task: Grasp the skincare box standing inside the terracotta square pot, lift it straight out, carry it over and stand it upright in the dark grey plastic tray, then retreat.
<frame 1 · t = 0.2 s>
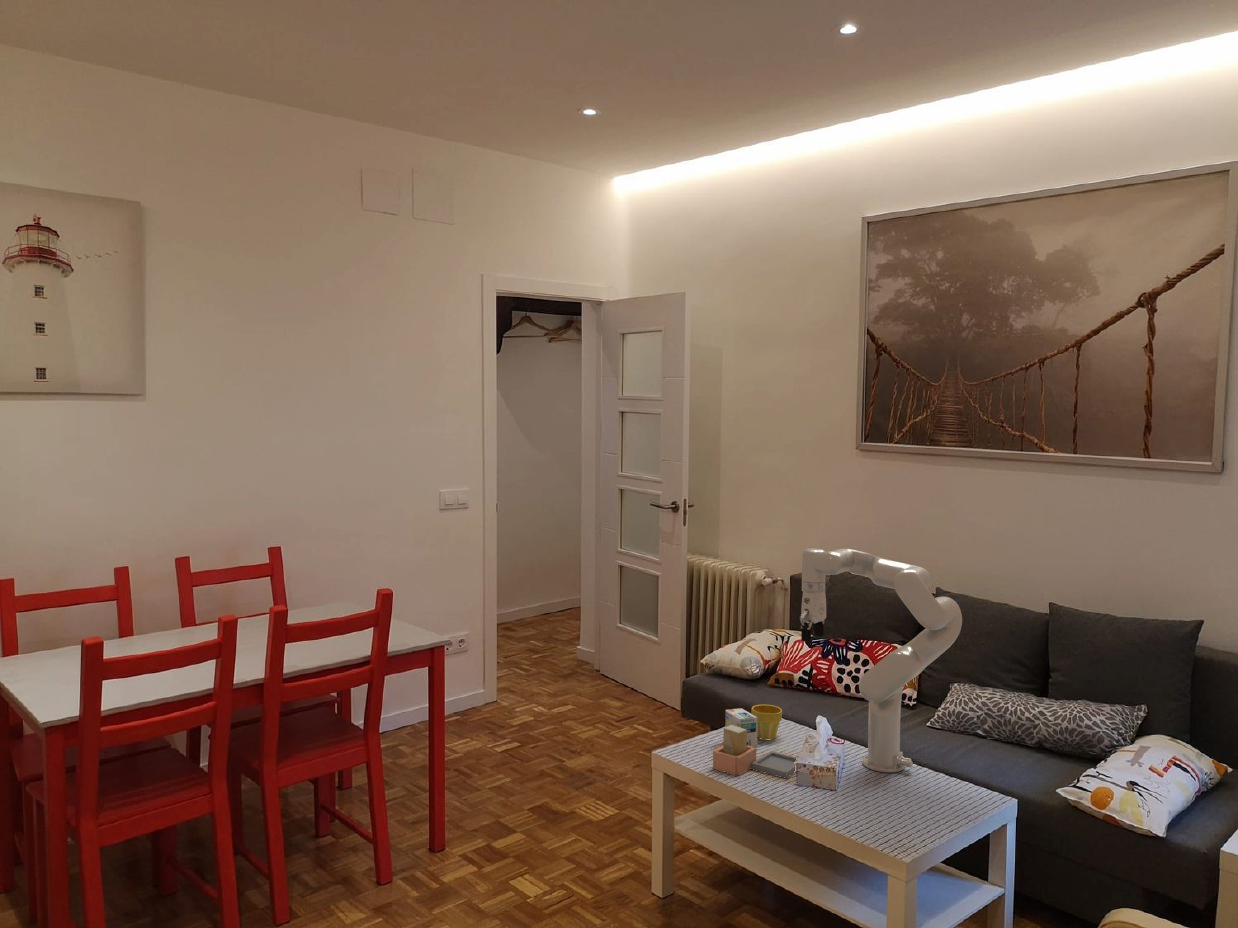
hand: (812, 638, 288), 37 cm above the table, tool pointing down, fingers open, 9 cm apart
skincare box: (734, 767, 274), resting in terracotta square pot
light bulb box: (741, 745, 293), on the table
plant pot: (766, 737, 300), on the table
terracotta square pot: (734, 766, 274), on the table
grey tray: (778, 767, 273), on the table
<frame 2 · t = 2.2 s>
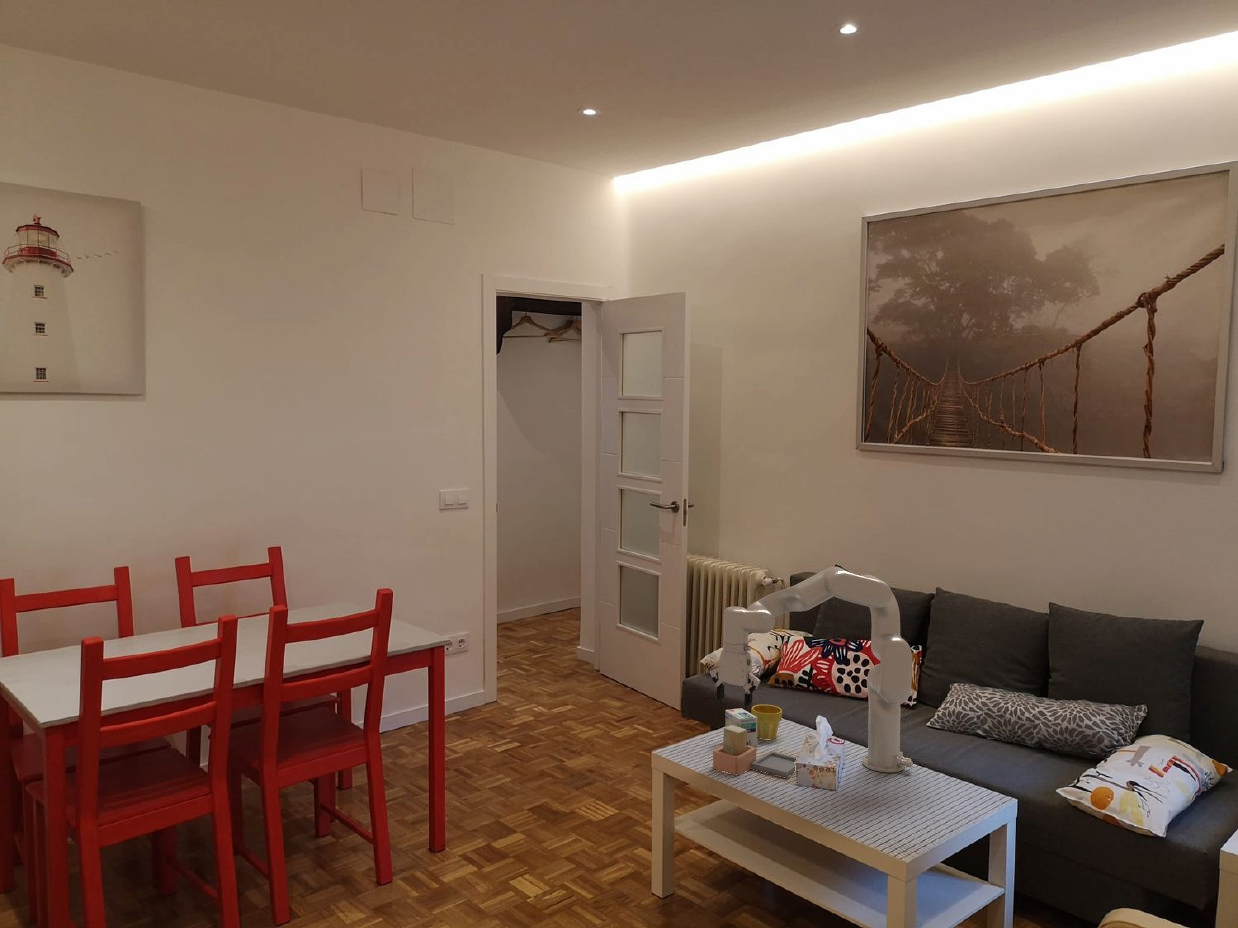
hand: (734, 701, 273), 20 cm above the table, tool pointing down, fingers open, 9 cm apart
nothing on the table moved.
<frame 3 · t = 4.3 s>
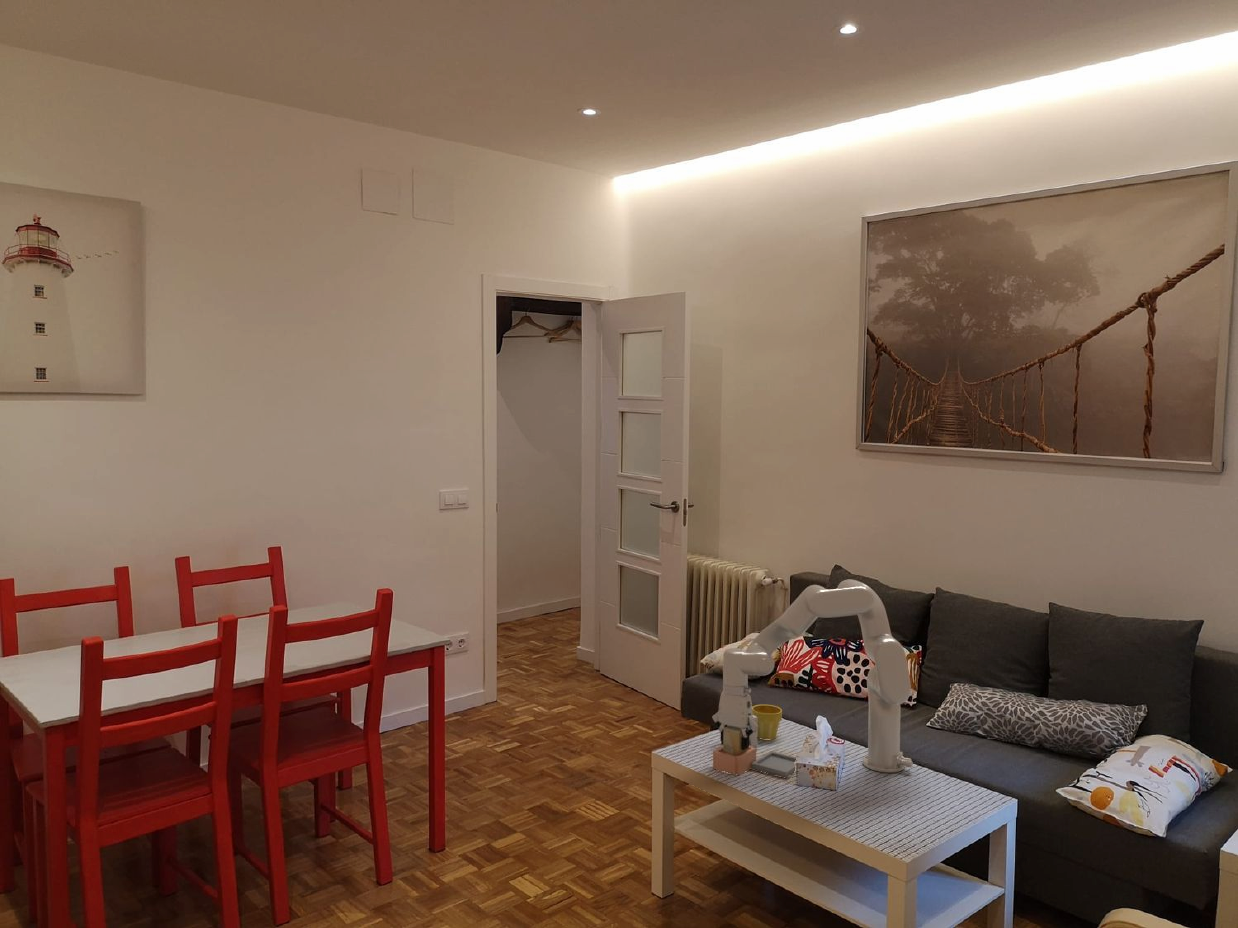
hand: (734, 745, 273), 7 cm above the table, tool pointing down, fingers closed on skincare box, 6 cm apart
skincare box: (734, 767, 274), resting in terracotta square pot, touching gripper
everything else where it was.
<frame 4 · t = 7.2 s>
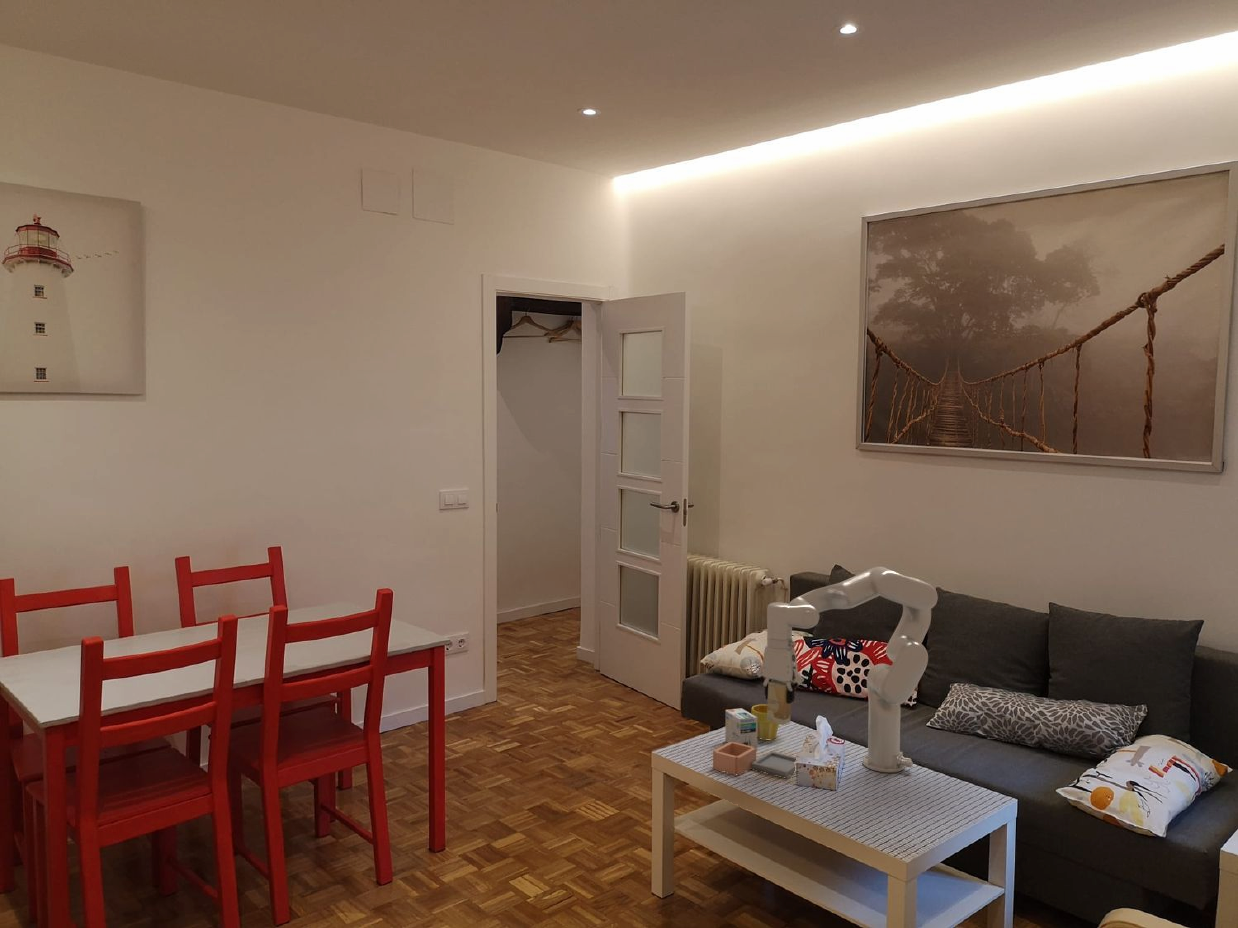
hand: (779, 699, 272), 21 cm above the table, tool pointing down, fingers closed on skincare box, 6 cm apart
skincare box: (778, 721, 273), point 14 cm above the table, touching gripper
everything else where it was.
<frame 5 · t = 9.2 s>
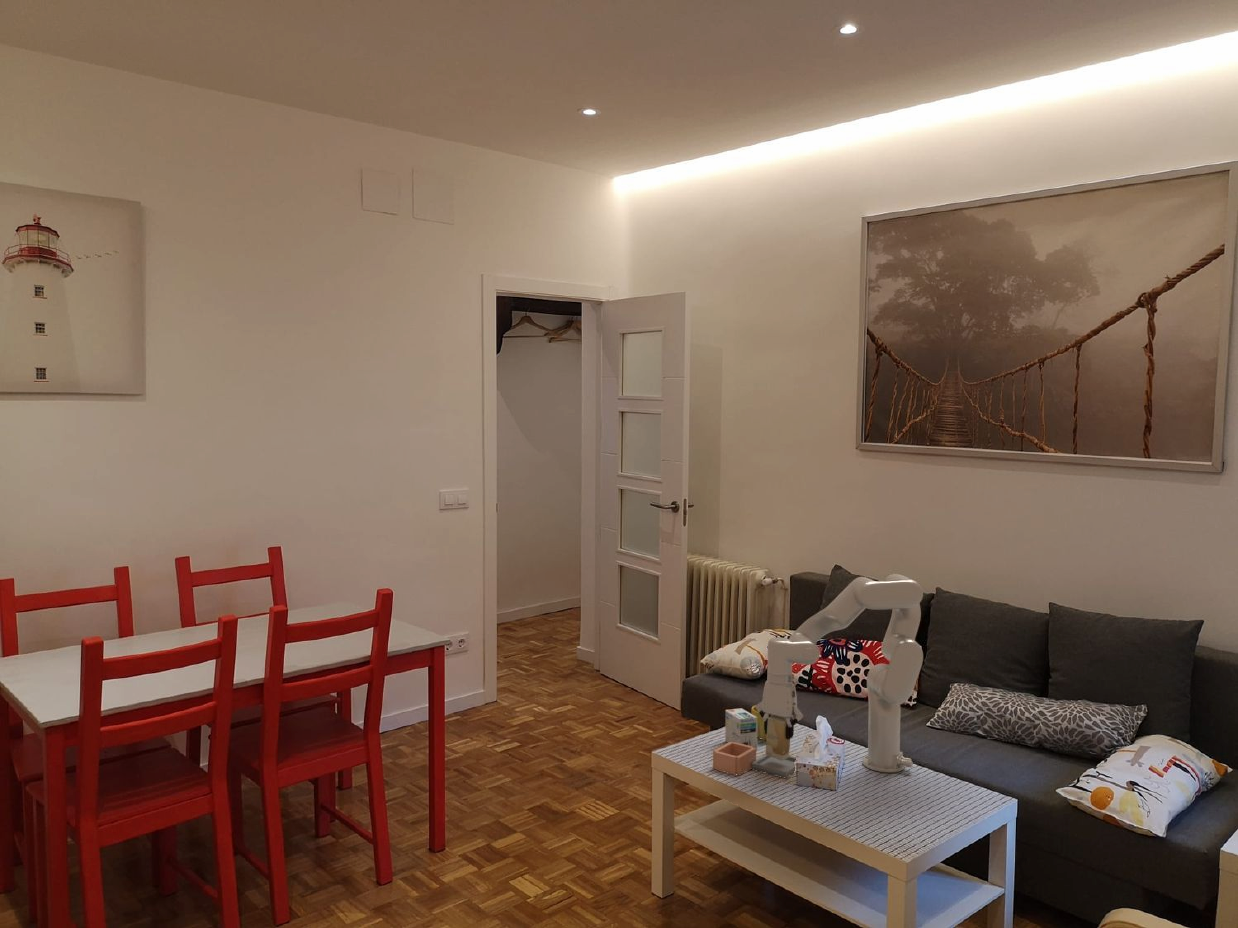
hand: (778, 735, 273), 10 cm above the table, tool pointing down, fingers closed on skincare box, 6 cm apart
skincare box: (777, 756, 273), point 3 cm above the table, touching gripper
everything else where it was.
when the fingers open (9 cm above the table, at t = 10.5 s): skincare box stays where it is, resting on grey tray.
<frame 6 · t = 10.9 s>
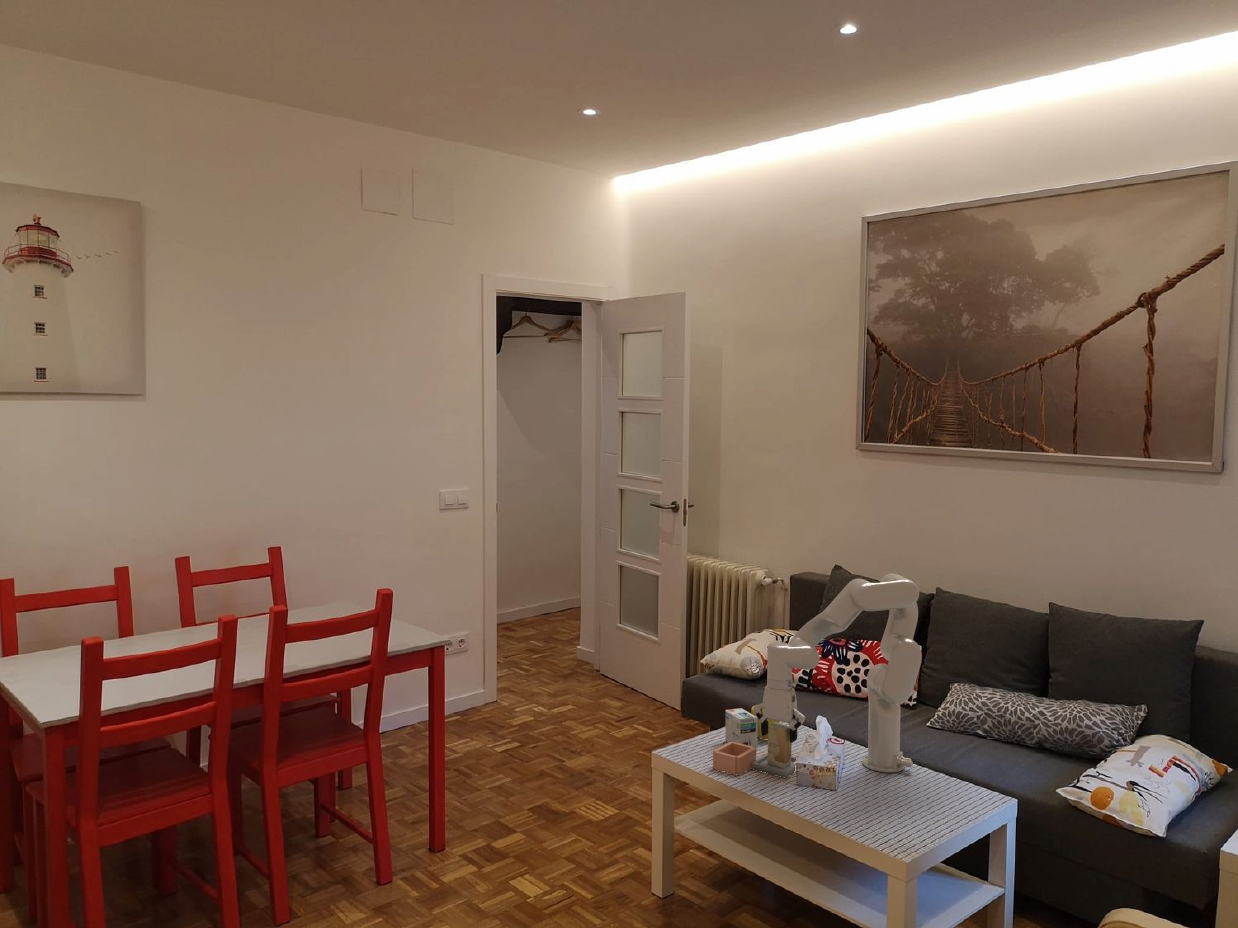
hand: (778, 737, 273), 9 cm above the table, tool pointing down, fingers open, 9 cm apart
skincare box: (779, 764, 273), point 1 cm above the table, touching grey tray
everything else where it was.
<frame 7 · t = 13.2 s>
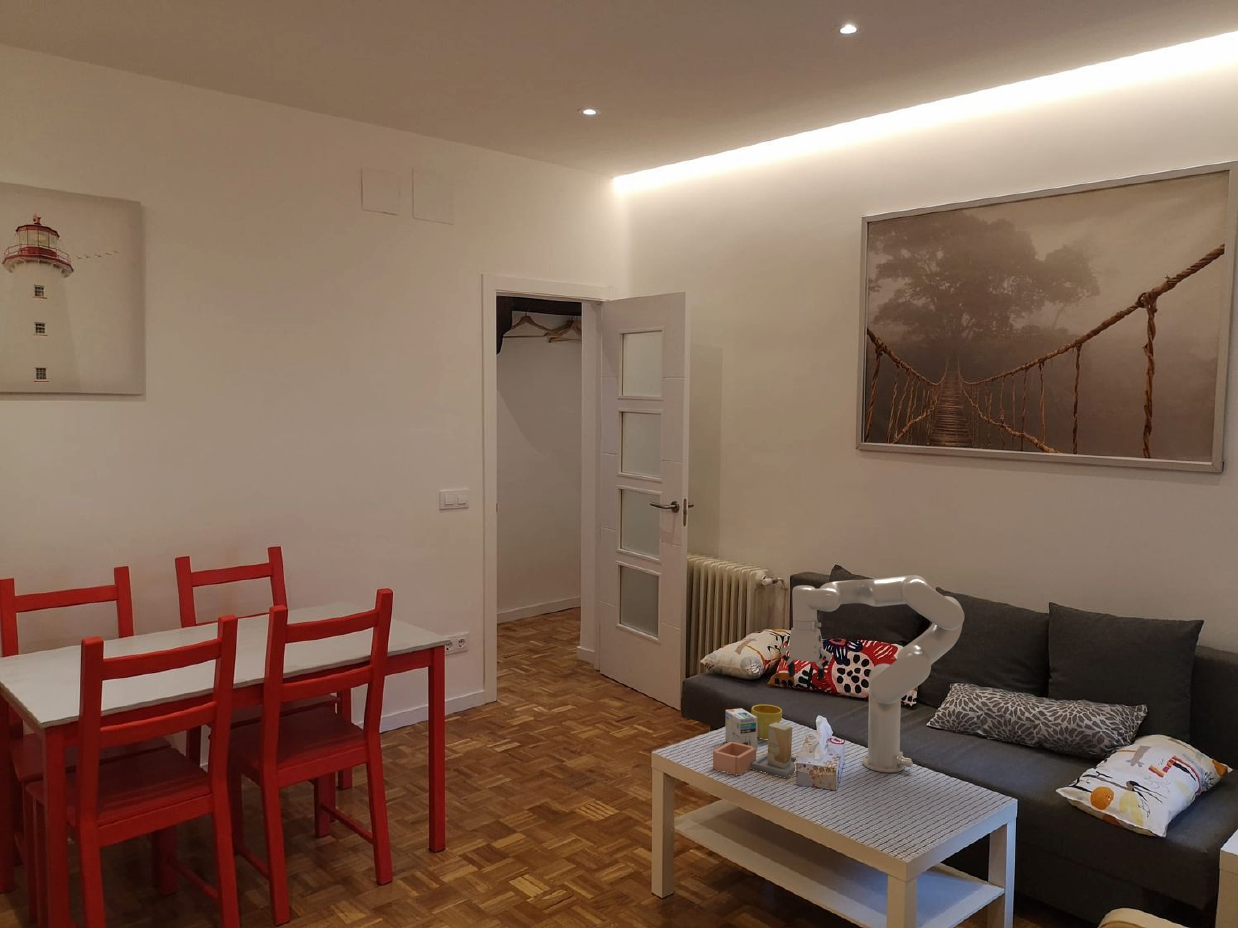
hand: (806, 678, 281), 26 cm above the table, tool pointing down, fingers open, 9 cm apart
nothing on the table moved.
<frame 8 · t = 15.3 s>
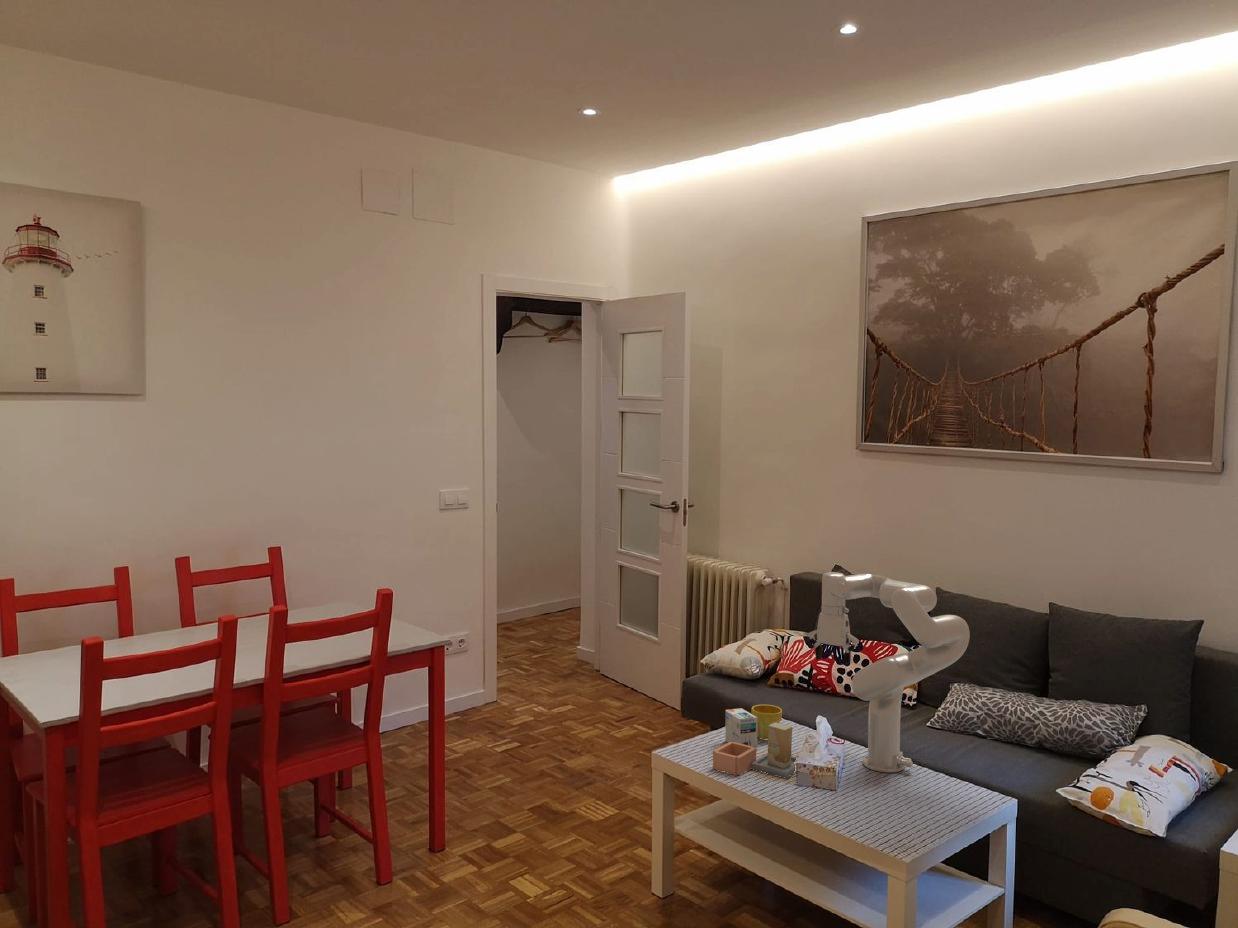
hand: (832, 661, 291), 28 cm above the table, tool pointing down, fingers open, 9 cm apart
nothing on the table moved.
at the end: skincare box inside the target area on the grey tray (0.3 cm from its centre), point 0.8 cm above the grey tray's base; skincare box tilted 0°; the gripper is holding nothing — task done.
